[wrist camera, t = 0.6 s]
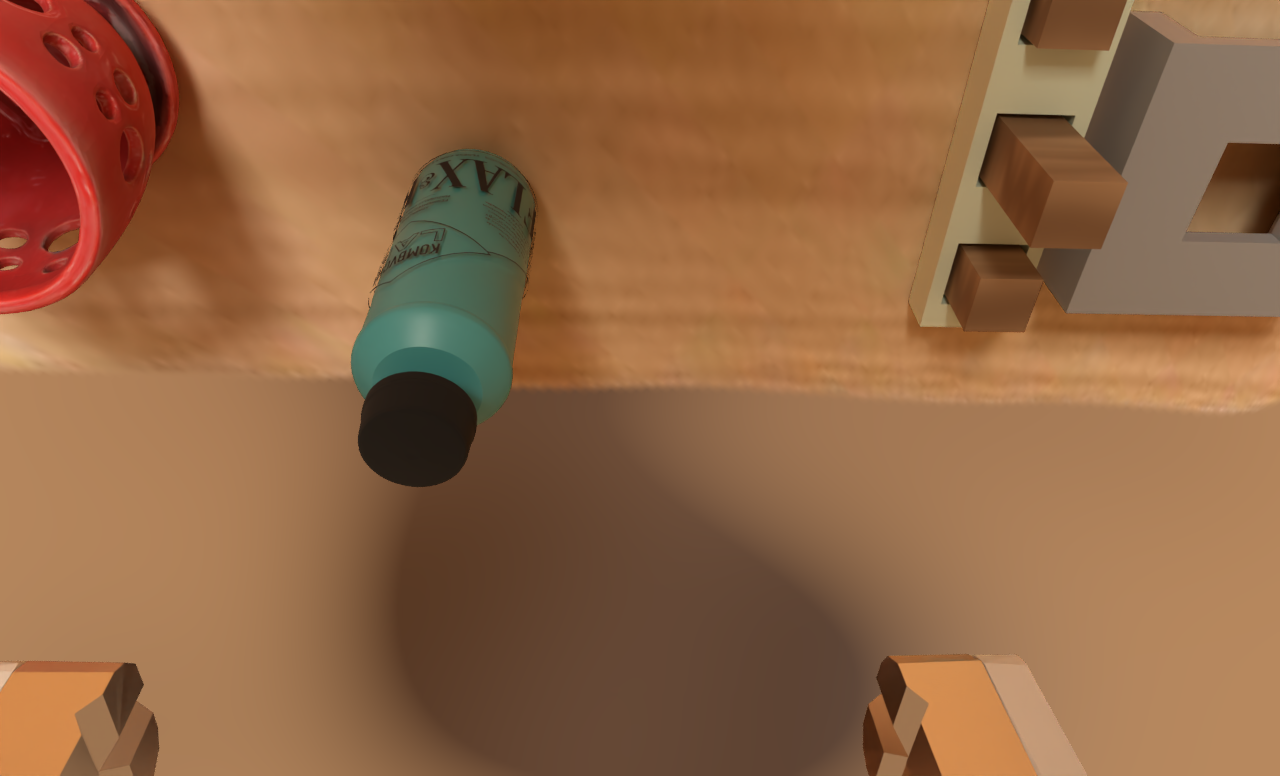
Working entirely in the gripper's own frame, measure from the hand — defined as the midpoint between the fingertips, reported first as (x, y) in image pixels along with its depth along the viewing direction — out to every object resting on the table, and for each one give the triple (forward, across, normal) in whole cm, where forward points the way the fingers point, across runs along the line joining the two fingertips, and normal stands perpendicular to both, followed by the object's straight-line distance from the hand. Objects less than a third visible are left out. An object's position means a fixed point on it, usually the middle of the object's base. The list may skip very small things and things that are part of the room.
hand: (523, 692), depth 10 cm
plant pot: (+39, +23, +4) cm, 46 cm away
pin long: (+38, -23, +4) cm, 44 cm away
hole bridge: (+38, -34, +5) cm, 51 cm away
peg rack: (+38, -23, +4) cm, 44 cm away
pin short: (+37, -23, -3) cm, 44 cm away
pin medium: (+39, -23, +11) cm, 46 cm away
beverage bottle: (+39, +4, +9) cm, 41 cm away
